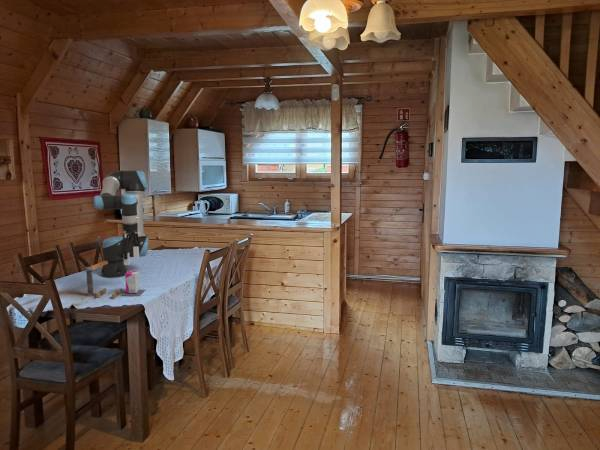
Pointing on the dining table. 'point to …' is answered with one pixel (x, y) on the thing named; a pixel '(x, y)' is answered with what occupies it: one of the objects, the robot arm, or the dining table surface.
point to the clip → (96, 266)
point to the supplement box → (132, 282)
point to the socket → (90, 290)
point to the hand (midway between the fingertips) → (131, 261)
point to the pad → (132, 294)
